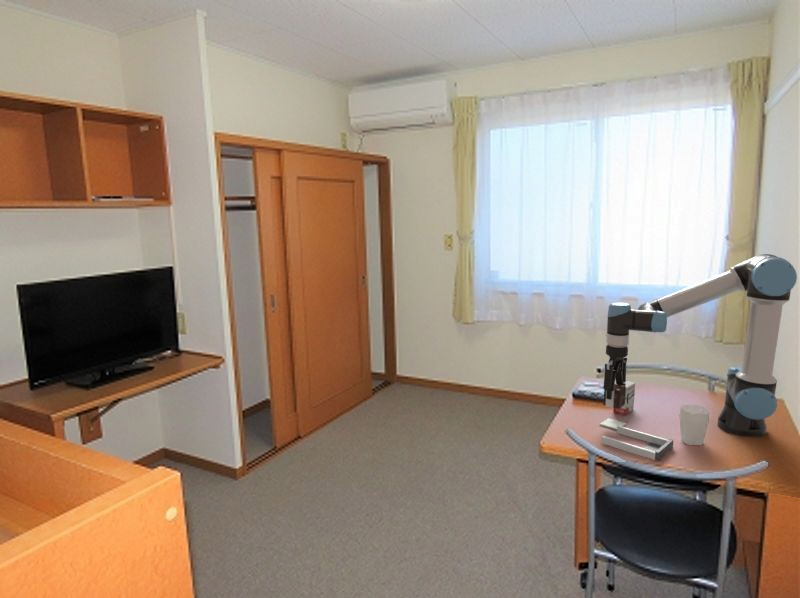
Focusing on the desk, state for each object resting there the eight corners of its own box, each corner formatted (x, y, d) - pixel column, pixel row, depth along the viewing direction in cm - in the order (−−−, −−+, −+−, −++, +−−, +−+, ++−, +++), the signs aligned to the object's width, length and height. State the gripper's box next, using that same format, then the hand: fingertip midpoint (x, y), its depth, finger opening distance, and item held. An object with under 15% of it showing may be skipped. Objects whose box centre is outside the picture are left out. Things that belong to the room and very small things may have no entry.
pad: (626, 424, 201) (626, 423, 200) (617, 430, 196) (618, 429, 196) (608, 419, 206) (608, 418, 205) (599, 425, 201) (599, 423, 201)
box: (609, 401, 203) (610, 382, 202) (625, 404, 199) (626, 386, 198) (602, 405, 199) (603, 386, 198) (619, 409, 195) (620, 390, 194)
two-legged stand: (672, 448, 181) (673, 439, 181) (657, 461, 172) (658, 452, 172) (618, 431, 195) (618, 424, 194) (601, 443, 186) (602, 435, 185)
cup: (706, 449, 179) (709, 416, 177) (676, 444, 184) (678, 411, 182) (707, 439, 187) (710, 407, 185) (678, 434, 192) (681, 402, 190)
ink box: (625, 415, 209) (626, 387, 207) (612, 412, 213) (614, 384, 210) (634, 409, 215) (635, 381, 213) (622, 406, 218) (623, 379, 216)
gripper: (618, 338, 204) (615, 395, 208) (595, 348, 191) (591, 408, 195) (638, 341, 199) (634, 400, 203) (615, 352, 186) (611, 414, 190)
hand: (613, 404), depth 199 cm, fingers closed on box, 6 cm apart
